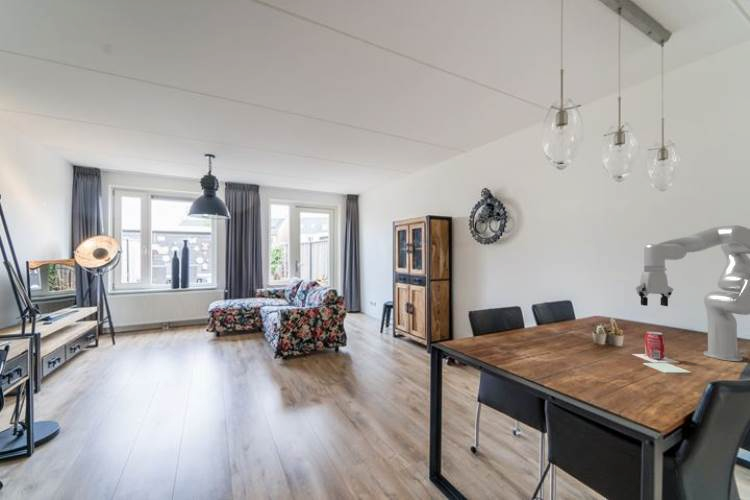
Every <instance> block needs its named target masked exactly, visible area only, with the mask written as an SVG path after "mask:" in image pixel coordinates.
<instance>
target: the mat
mask: <svg viewBox="0 0 750 500" xmlns="http://www.w3.org/2000/svg"><path fill="white" fill-rule="evenodd" d="M642 365H645V366H647V367H649V368H652V369H654V370H656V371H659V372H661V373H664V374H692V371H690V370H687V369H683V368H681V367H679V366H676V365H673V364H672V363H653V362H643V363H642Z"/></svg>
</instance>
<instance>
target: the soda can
mask: <svg viewBox="0 0 750 500" xmlns="http://www.w3.org/2000/svg"><path fill="white" fill-rule="evenodd" d="M665 344H666V343H665V336H664V335H663V333H662V332H659V331H655V330H654V331H651V330H647V331H646V333H645V335H644V349H645V351H644V352H645V353H644V354H646V356H648V357H649V358H652V359H659V360H660V359H663V358H664V357H666V356H665V355H666V345H665Z"/></svg>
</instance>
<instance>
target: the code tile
mask: <svg viewBox="0 0 750 500" xmlns="http://www.w3.org/2000/svg"><path fill="white" fill-rule="evenodd" d="M631 355H632V356H635V357H637V358H641V359H643V360H645V361H649V363H668V364H672V363H675V364H676V363H679V364H680V362H679V361H678V360H674V359H672V358H668V357H666V356H665V357H664V358H663V359H660V360H659V359H652V358H649V357H648V356H646V353H632V354H631Z"/></svg>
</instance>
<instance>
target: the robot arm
mask: <svg viewBox="0 0 750 500" xmlns="http://www.w3.org/2000/svg"><path fill="white" fill-rule="evenodd" d="M719 245H720V248H721V250H722V252H723V253H724V255H725V257H726V264H725V266H724V269H723V271H722V273H721V275H720V276H719V279H718V281H717V287H718V288H719V289H720V290H721V291H712V292H711V291H710V292H709V293H707V294H706V295H705V296H704V297H703V298H704V299H703V302H704V306H705V311H706V314H707V316H706V317H707V350H705V351H703V355H704V356H706V357H709V358H712V359H716V360H722V361H728V362H742V361H743V357H742V356H740V355H746V354H747V351H746V349H739V348H738V322H737V320H736V317H735V316H734V314H735V315H743V316H748V315H750V257H749V256H748V255H750V228H748V227H745V226H743V225H723V226H713V227H711V228H708V229H705V230H703V231H702V230H701V231H700V232H696V233H693V234H690V235H685V236H681V237H678V238H673V239H669V240H666V241H662V242H659V243H656V244H655V243H654V244H646V245H644V255H643V256H644V258H643V261H644V262H643V264H644V265H643V266H644V267H643V272H641V276H640V281H639V285H638V286H636V287H635V291H636V292H637V294H638V296H639V297H640V305H641V306H644V307H645V306H646V307H647V306H648V305H649V303H648V301H649V300H648V296H649V294H652V295H653V294H656V295H657V294H658V295H660V306H663V307H668V306H669V299H670V296H671V295H672V293H673V291H674V288H673V287H671V286H669V283H668V276H667V273H666V271H667V268H666V261H667V260H668V261H678V260H682V259H684V258H685V257H686V256H687V255H688V254H687V253H695V252H701V251H705V250H707V249H708V250H709V249H711V248H714V247H717V246H719ZM722 290H723V291H722ZM725 291H726V292H725Z"/></svg>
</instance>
